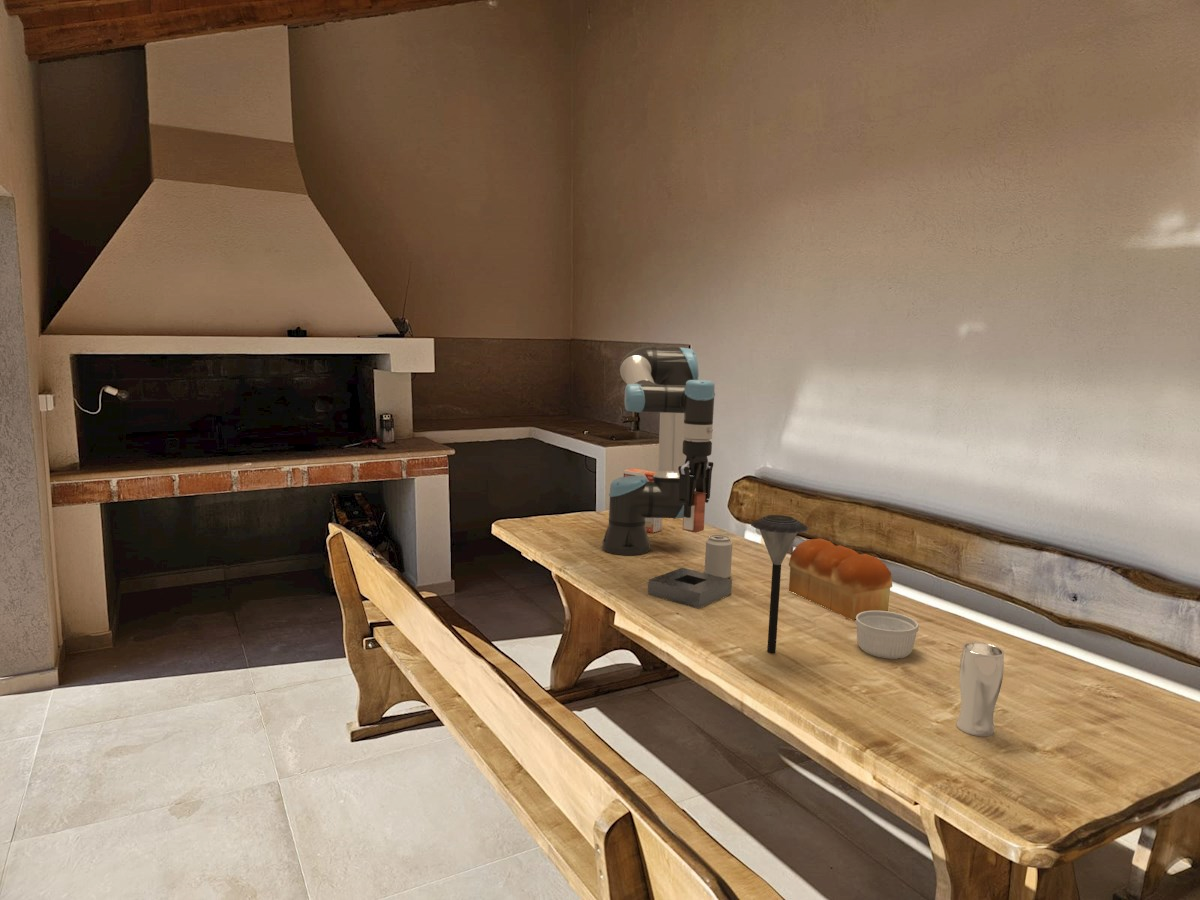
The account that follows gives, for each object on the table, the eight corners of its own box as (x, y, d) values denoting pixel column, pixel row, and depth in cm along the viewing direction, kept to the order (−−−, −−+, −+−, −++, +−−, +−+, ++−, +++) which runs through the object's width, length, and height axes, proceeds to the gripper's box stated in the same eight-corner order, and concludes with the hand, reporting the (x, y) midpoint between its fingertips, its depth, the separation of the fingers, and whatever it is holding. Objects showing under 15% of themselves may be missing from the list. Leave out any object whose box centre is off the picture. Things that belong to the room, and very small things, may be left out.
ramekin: (875, 663, 173) (878, 632, 172) (841, 641, 186) (843, 612, 185) (928, 659, 177) (931, 628, 176) (891, 637, 189) (894, 608, 188)
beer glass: (946, 719, 148) (954, 641, 146) (983, 719, 149) (991, 641, 146) (966, 738, 141) (975, 656, 139) (1004, 738, 142) (1013, 656, 140)
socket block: (647, 594, 215) (648, 579, 214) (681, 581, 227) (682, 567, 226) (699, 608, 205) (699, 593, 204) (731, 594, 217) (732, 579, 216)
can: (729, 574, 236) (732, 533, 234) (731, 581, 228) (733, 540, 226) (703, 572, 236) (705, 532, 235) (704, 580, 229) (706, 538, 227)
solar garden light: (806, 663, 172) (816, 525, 167) (748, 662, 172) (757, 524, 167) (792, 641, 184) (801, 512, 180) (738, 640, 184) (746, 511, 179)
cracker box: (620, 526, 289) (622, 469, 286) (631, 524, 294) (633, 467, 291) (652, 534, 280) (654, 474, 278) (662, 531, 285) (665, 472, 282)
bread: (786, 591, 221) (790, 538, 219) (821, 586, 227) (825, 535, 225) (852, 621, 199) (857, 563, 197) (890, 614, 205) (894, 558, 203)
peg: (682, 529, 213) (684, 492, 211) (690, 527, 216) (692, 490, 215) (695, 532, 210) (697, 494, 209) (703, 530, 213) (705, 492, 212)
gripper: (691, 444, 201) (687, 535, 204) (726, 438, 214) (722, 525, 217) (666, 440, 206) (663, 530, 209) (702, 435, 219) (698, 520, 222)
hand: (693, 527), depth 213 cm, fingers closed on peg, 4 cm apart
